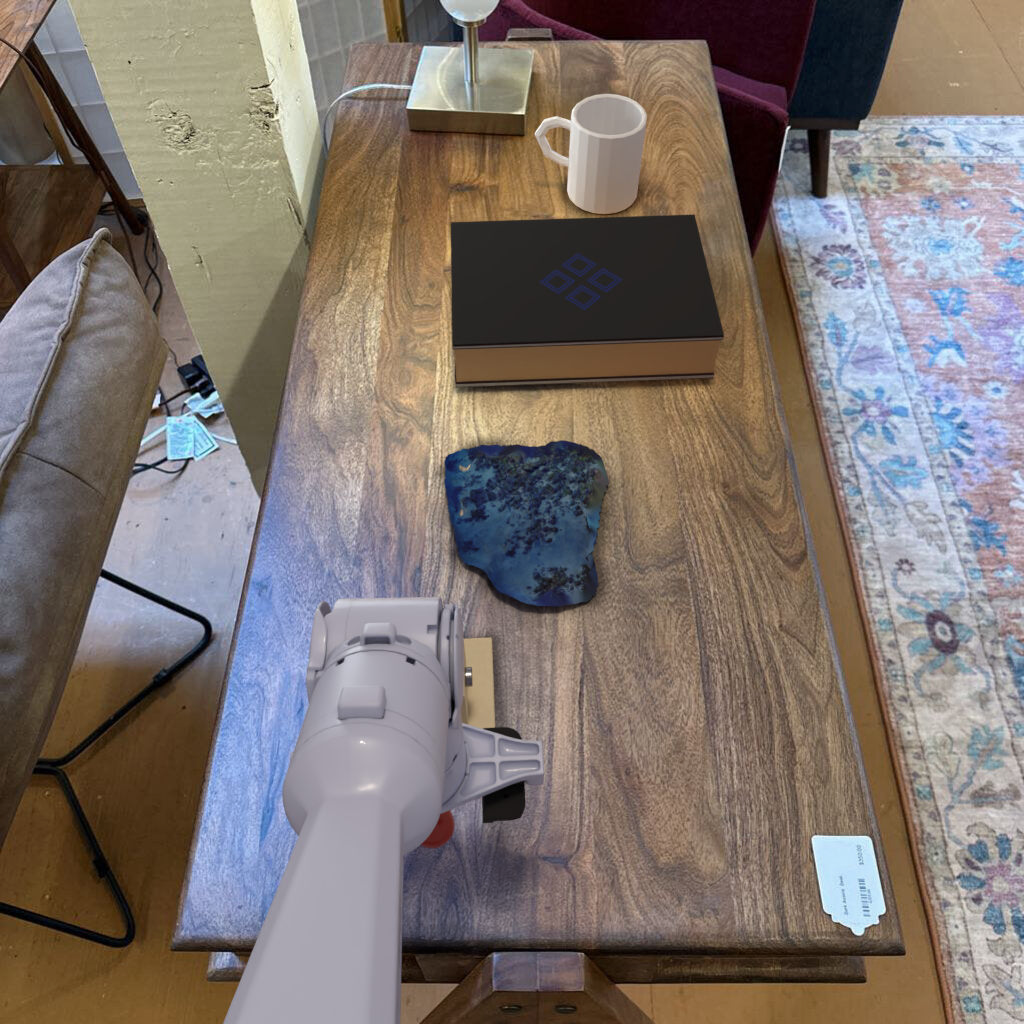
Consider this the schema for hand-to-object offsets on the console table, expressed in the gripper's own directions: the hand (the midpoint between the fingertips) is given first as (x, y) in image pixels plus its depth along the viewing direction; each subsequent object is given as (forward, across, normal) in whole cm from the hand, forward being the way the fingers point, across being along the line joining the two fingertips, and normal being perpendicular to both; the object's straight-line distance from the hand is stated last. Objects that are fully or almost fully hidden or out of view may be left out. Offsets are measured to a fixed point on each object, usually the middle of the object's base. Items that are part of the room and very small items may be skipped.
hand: (429, 810), depth 60 cm
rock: (+7, -8, -26) cm, 29 cm away
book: (+7, -14, -51) cm, 53 cm away
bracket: (+7, 0, -10) cm, 12 cm away
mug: (+7, -17, -73) cm, 75 cm away
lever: (+4, 0, -5) cm, 6 cm away
